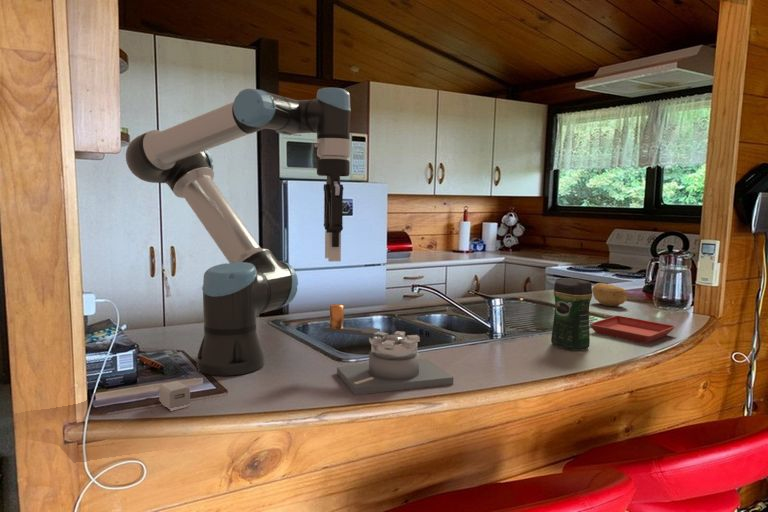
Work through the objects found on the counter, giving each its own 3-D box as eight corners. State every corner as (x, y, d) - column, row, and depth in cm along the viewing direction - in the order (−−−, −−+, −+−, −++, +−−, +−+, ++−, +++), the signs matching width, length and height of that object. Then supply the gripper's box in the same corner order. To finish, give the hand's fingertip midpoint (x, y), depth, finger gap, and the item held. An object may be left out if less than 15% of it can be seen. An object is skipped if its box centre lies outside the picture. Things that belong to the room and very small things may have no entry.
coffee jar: (594, 349, 149) (598, 280, 147) (574, 353, 145) (578, 282, 143) (565, 340, 157) (569, 275, 155) (545, 344, 153) (549, 277, 151)
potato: (615, 310, 200) (616, 288, 199) (585, 303, 213) (586, 282, 212) (634, 308, 204) (635, 286, 203) (603, 301, 217) (605, 280, 216)
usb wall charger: (169, 412, 102) (168, 391, 102) (153, 401, 107) (153, 381, 107) (190, 406, 105) (189, 386, 104) (174, 396, 110) (173, 377, 109)
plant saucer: (648, 347, 153) (649, 335, 153) (587, 334, 167) (588, 323, 166) (675, 336, 165) (676, 325, 165) (616, 325, 179) (616, 315, 178)
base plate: (354, 394, 112) (354, 368, 112) (336, 373, 125) (337, 349, 125) (453, 384, 120) (454, 359, 119) (426, 364, 133) (427, 342, 132)
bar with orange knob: (422, 348, 126) (423, 307, 125) (411, 362, 115) (412, 317, 114) (334, 340, 132) (335, 300, 130) (316, 352, 121) (316, 309, 120)
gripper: (312, 160, 136) (312, 255, 138) (322, 155, 118) (321, 264, 121) (343, 161, 137) (342, 255, 140) (357, 156, 120) (355, 264, 122)
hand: (332, 259), depth 130 cm, fingers open, 5 cm apart
